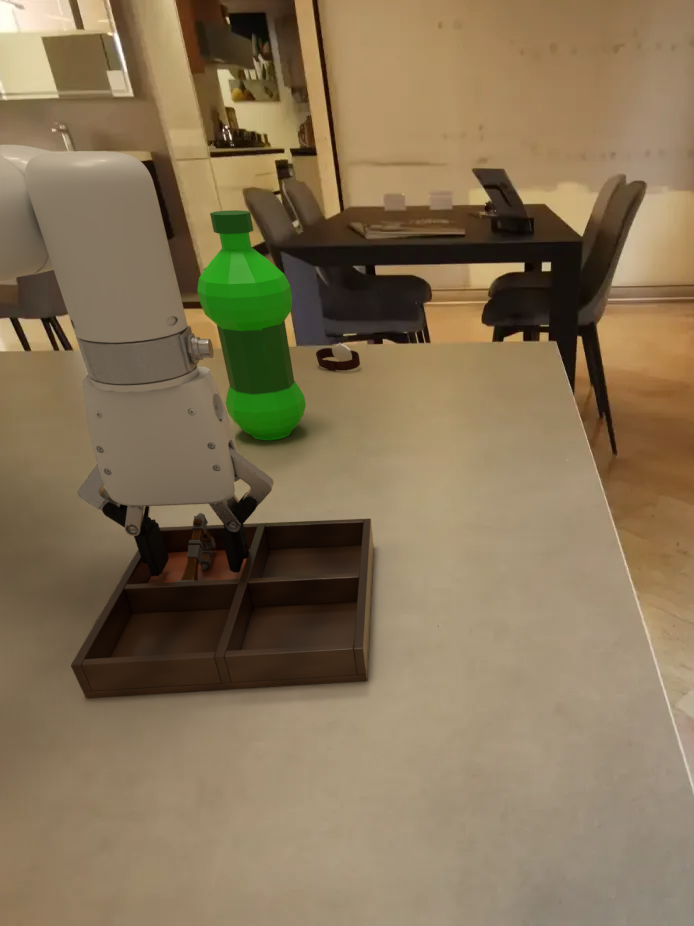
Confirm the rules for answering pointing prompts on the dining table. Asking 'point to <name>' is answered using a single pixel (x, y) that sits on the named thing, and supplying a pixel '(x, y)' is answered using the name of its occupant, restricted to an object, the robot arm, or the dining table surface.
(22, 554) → the dining table surface
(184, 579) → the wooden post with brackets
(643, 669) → the dining table surface
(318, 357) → the watch
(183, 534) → the grid
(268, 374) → the plastic bottle
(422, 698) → the dining table surface
